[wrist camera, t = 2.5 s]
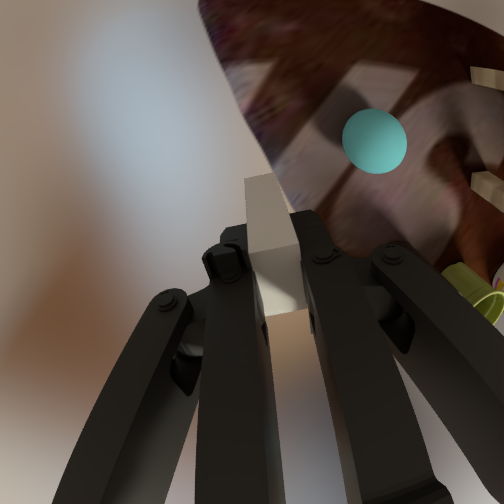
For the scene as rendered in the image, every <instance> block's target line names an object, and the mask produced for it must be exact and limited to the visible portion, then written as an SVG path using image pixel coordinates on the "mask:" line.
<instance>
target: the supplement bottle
mask: <svg viewBox="0 0 504 504" xmlns="http://www.w3.org/2000/svg"><path fill="white" fill-rule="evenodd" d="M493 287H494V288H495V289H496V290H501V291H502V292H504V263H503V264H502V265H501V266H500V268H499V269H498V271H497V272H496V274H495V276H494V279H493Z"/></svg>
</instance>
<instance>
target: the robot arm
mask: <svg viewBox="0 0 504 504" xmlns="http://www.w3.org/2000/svg"><path fill="white" fill-rule="evenodd" d="M244 181H245V198H246V199H245V200H246V218H247V223H246V224H241V225H237V226H232V227H228V228H226V229H225V230H224V231H223V233H222V234H221V236H220V243H219V244H216V245H214V246H212V247H211V248H209V249H208V250H207V251H206V252H205V253H204V254H203V256H202V261H203V264H204V266H205V269H206V271H207V274H208V276H209V279H210V283H209V285H208V286H207V287H206V288H204V289H202V290H200V291H198V292H196V293H193V294H191V295H189V296H187V294H186V292H185V291H183V290H182V289H177V288H173V289H167V290H165V291H163V292H160V293H159V294H158V295H156V296H155V297H154V298H153V299H152V300H151V302H150V303H149V305H148V307H147V308H146V310H145V312H144V314H143V315H142V317H141V319H140V320H139V322H138V324H137V326H136V327H135V329H134V331H133V333H132V335H131V336H130V338H129V340H128V342H127V343H126V346H125V347H124V349H123V351H122V353H121V355H120V356H119V358H118V360H117V362H116V364H115V366H114V368H113V370H112V371H111V373H110V375H109V377H108V379H107V381H106V383H105V385H104V387H103V389H102V391H101V393H100V395H99V397H98V399H97V401H96V403H95V405H94V407H93V409H92V411H91V413H90V415H89V417H88V419H87V421H86V424H85V426H84V428H83V430H82V432H81V435H80V437H79V439H78V441H77V443H76V446H75V448H74V450H73V452H72V454H71V457H70V459H69V461H68V464H67V466H66V469H65V471H64V473H63V476H62V478H61V481H60V483H59V486H58V489H57V491H56V494H55V496H54V499H53V502H52V504H164V503H165V500H166V497H167V493H168V491H169V488H170V485H171V482H172V479H173V475H174V472H175V469H176V466H177V463H178V460H179V457H180V454H181V451H182V448H183V445H184V442H185V439H186V436H187V433H188V430H189V427H190V424H191V421H192V418H193V415H194V412H195V409H196V406H197V403H198V400H199V408H198V425H197V444H196V445H197V446H196V469H195V504H286V501H285V490H284V480H283V471H282V460H281V450H280V440H279V431H278V422H277V411H276V402H275V392H274V383H273V373H272V364H271V356H270V346H269V337H268V329H267V324H266V321H265V316H271V315H276V314H281V313H286V312H291V311H296V310H301V309H306V308H308V309H309V318H310V328H311V333H313V335H314V340H315V344H316V348H317V352H318V357H319V361H320V365H321V370H322V374H323V378H324V383H325V387H326V392H327V397H328V401H329V406H330V411H331V416H332V420H333V425H334V430H335V435H336V440H337V446H338V451H339V456H340V461H341V467H342V473H343V478H344V484H345V490H346V496H347V502H348V504H454V502H453V499H452V496H451V494H450V492H449V491H448V489H447V488H446V486H444V485H443V484H442V483H441V482H439V481H438V480H437V479H436V477H435V475H434V473H433V470H432V466H431V463H430V459H429V456H428V452H427V449H426V446H425V443H424V439H423V436H422V433H421V430H420V427H419V424H418V421H417V418H416V415H415V412H414V409H413V407H412V404H411V401H410V398H409V396H408V393H407V390H406V388H405V385H404V382H403V380H402V377H401V375H400V372H399V370H398V367H397V365H396V362H395V360H394V357H395V358H396V359H397V361H398V362H399V363H400V364H401V366H402V367H403V368H404V370H405V371H406V372H407V374H408V375H409V377H410V378H411V379H412V381H413V382H414V383H415V385H416V386H417V387H418V389H419V390H420V391H421V393H422V394H423V396H424V397H425V398H426V400H427V401H428V403H429V404H430V405H431V407H432V408H433V410H434V411H435V412H436V414H437V415H438V417H439V418H440V419H441V421H442V422H443V424H444V425H445V427H446V428H447V430H448V431H449V432H450V434H451V435H452V437H453V438H454V440H455V441H456V443H457V444H458V446H459V447H460V449H461V450H462V452H463V453H464V455H465V456H466V458H467V460H468V461H469V463H470V464H471V466H472V467H473V469H474V470H475V472H476V474H477V475H478V477H479V479H480V480H481V482H482V483H483V485H484V486H485V488H486V489H487V490H488V492H489V493H490V494H491V495H492V496H493V497H494V498H495V499H496V500H497V501H498V502H499V503H500V504H504V336H503V335H502V334H501V333H500V332H499V331H498V330H497V329H496V328H495V327H494V326H493V325H492V324H491V323H490V322H489V321H488V320H487V319H486V318H485V317H484V316H483V315H482V314H481V313H480V312H479V311H478V310H477V309H476V308H475V307H474V306H473V305H472V304H471V303H470V302H468V301H467V300H466V299H465V298H464V297H463V296H462V295H461V294H460V293H459V292H458V291H456V290H455V289H454V288H453V287H452V286H451V285H450V284H449V283H448V282H446V281H445V280H444V279H443V278H442V277H441V276H439V275H438V274H437V273H436V272H435V271H434V270H432V269H431V268H430V267H429V266H428V265H426V264H425V263H424V262H423V261H422V260H420V259H419V258H418V257H417V256H415V255H414V254H413V253H412V252H410V251H409V250H408V249H406V248H404V247H403V246H399V245H395V244H386V245H382V246H379V247H377V248H376V249H374V251H373V252H372V254H371V258H353V257H349V256H346V254H345V253H344V251H343V250H342V249H341V248H339V247H337V246H335V245H334V244H333V242H332V240H331V238H330V236H329V234H328V232H327V230H326V228H325V226H324V224H323V222H322V220H321V218H320V217H319V215H318V214H317V213H315V212H314V211H312V210H306V211H300V212H295V213H291V214H289V213H288V210H287V207H286V204H285V201H284V198H283V195H282V193H281V190H280V187H279V184H278V182H277V179H276V176H275V173H270V174H265V175H260V176H255V177H250V178H246V179H244ZM307 305H308V307H307ZM264 313H265V315H264ZM392 354H393V355H394V357H393V355H392Z"/></svg>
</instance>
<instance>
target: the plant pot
mask: <svg viewBox="0 0 504 504" xmlns="http://www.w3.org/2000/svg"><path fill="white" fill-rule="evenodd" d="M441 274H442V275H443V276H444V277H445V278H446V279H447V280H448V281H449V282H450V283H451V284H452V285H453V286H454V287H455V288H456V289H457V290H458V291H459V292H460V293H461V294H462V296H463V297H464V298H465V299H466V300H467V301H468V302H470V303H471V304H472V305H473V306H474V307H475V308H476V309H477V310H478V311H479V312H480V313H481V314H482V315H483V316H484V317H485V318H486V319H487V320H488V321H489V322H490V323H491V324H492V325H494V324H495V322H496V321H497V320H498V318H499V317H500V315H501V314H502V312H503V310H504V292H502V291H501V290H496V289H495V288H494V287H492V286H490V285H489V284H487V283H486V282H485V281H484V280H483V279H482V278H481V277H479V276H478V275H477V274H476V273H475V272H474V271H473V270H471V269H470V268H469V267H468V266H467V265H465V264H464V263H462V262H458V263H457V264H454V265H450V266H448V267H447V268H446V269H445V270H443V272H442V273H441Z"/></svg>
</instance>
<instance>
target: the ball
mask: <svg viewBox="0 0 504 504" xmlns="http://www.w3.org/2000/svg"><path fill="white" fill-rule="evenodd" d="M342 143H343V148H344V151H345V153H346V155H347V157H348V158H349V160H350V161H351V162H352V163H353V164H354V165H355V166H356V167H358V168H359V169H361V170H363V171H365V172H368V173H373V174H381V173H386V172H389V171H391V170H393V169H394V168H396V167H397V166H398V165H399V164H400V163H401V161H402V160H403V158H404V155H405V153H406V148H407V140H406V135H405V132H404V130H403V128H402V126H401V124H400V123H399V122H398V120H397V119H396V118H394V117H393V116H392V115H391V114H389V113H387V112H385V111H383V110H379V109H365V110H361V111H359V112H357V113H355V114H354V115H353V116H352V117H350V119H349V120H348V121H347V123H346V124H345V126H344V129H343V134H342Z"/></svg>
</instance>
